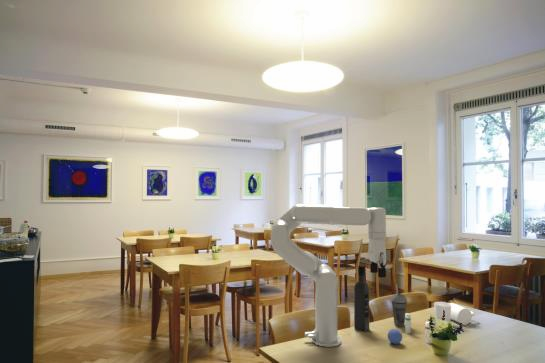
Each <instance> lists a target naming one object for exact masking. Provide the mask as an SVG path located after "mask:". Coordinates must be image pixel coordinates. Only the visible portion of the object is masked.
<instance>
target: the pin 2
mask: <svg viewBox="0 0 545 363" xmlns="http://www.w3.org/2000/svg"><path fill="white" fill-rule="evenodd" d="M429 322H430V321H425V325H424V326H425V343H426V344H429V345H430V344H431V345H432V343H431V340H430V338H429V334H430V327H429Z"/></svg>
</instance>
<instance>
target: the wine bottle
mask: <svg viewBox="0 0 545 363" xmlns="http://www.w3.org/2000/svg"><path fill="white" fill-rule="evenodd" d="M357 270H358V272H357V273H358V281H356V282H355V284H354V287H353V301H354V302H353V304H354V305H353V313H354V314H353V315H354V318H353V322H354V324H353V325H354V329H355V331H360V332H363V333H364V332H366V331H368V330H369V329H370V288H369V284H368V283H367V282H366V281H365V265H362V264H360V265H358V266H357Z"/></svg>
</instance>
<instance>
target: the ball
mask: <svg viewBox="0 0 545 363" xmlns="http://www.w3.org/2000/svg"><path fill="white" fill-rule="evenodd" d="M387 339H388V341H389V342H390V343H391V344H392V345H393V344H394V345H399V344H400V343H401V342H402V340H403V335H402V332H401V331H400V330H398V329H397V328H392V329H390V330H388V333H387Z"/></svg>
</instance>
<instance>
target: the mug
mask: <svg viewBox="0 0 545 363" xmlns="http://www.w3.org/2000/svg"><path fill="white" fill-rule="evenodd" d="M449 304H451V320H452V321H455V322H457V323H459V324H460V323H462V324H461V325H463V326H465V325H468V324H470V322H471V321H472V318H473V317H474V316H475V315H476V314H475V312H474V311H472V310H469V309H468V308H466V307H464V306H462V305H459V304H456V303H454V302H450V303H449Z"/></svg>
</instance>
